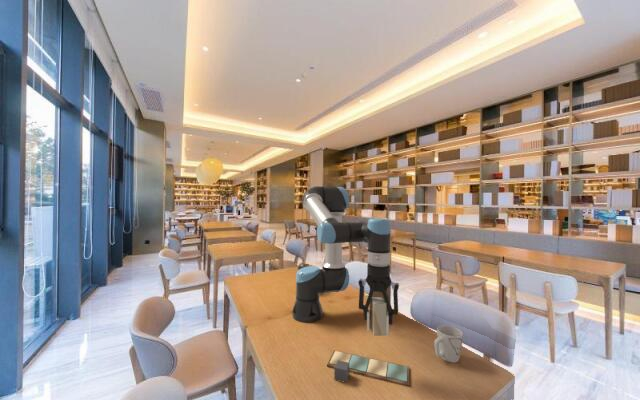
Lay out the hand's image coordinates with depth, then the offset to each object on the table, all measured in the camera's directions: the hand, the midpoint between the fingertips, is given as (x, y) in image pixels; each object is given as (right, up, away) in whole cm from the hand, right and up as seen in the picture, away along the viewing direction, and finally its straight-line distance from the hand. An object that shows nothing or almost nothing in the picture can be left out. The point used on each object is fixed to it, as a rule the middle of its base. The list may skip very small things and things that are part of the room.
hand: (377, 331), depth 86 cm
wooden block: (+10, -13, +41) cm, 44 cm away
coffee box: (-30, -13, +73) cm, 80 cm away
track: (-3, -13, +1) cm, 14 cm away
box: (0, -1, 0) cm, 1 cm away
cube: (-13, -13, -4) cm, 19 cm away
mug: (+27, -14, +7) cm, 31 cm away
